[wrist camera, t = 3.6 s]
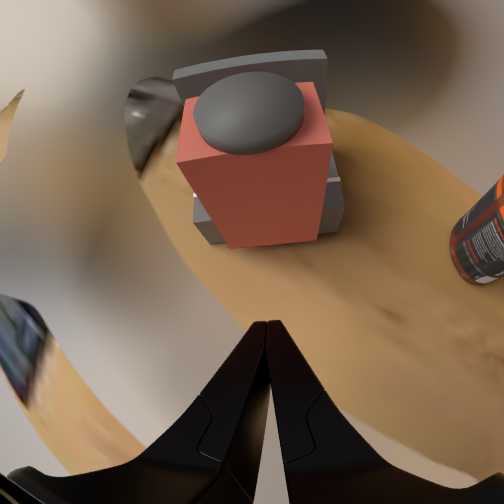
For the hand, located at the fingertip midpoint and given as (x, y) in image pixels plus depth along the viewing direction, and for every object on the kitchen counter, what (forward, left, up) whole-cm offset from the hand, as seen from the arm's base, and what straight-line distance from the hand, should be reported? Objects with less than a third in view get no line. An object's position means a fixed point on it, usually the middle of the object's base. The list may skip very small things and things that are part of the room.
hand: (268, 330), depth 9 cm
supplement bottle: (-1, -18, -11) cm, 21 cm away
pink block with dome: (+8, -3, -9) cm, 12 cm away
